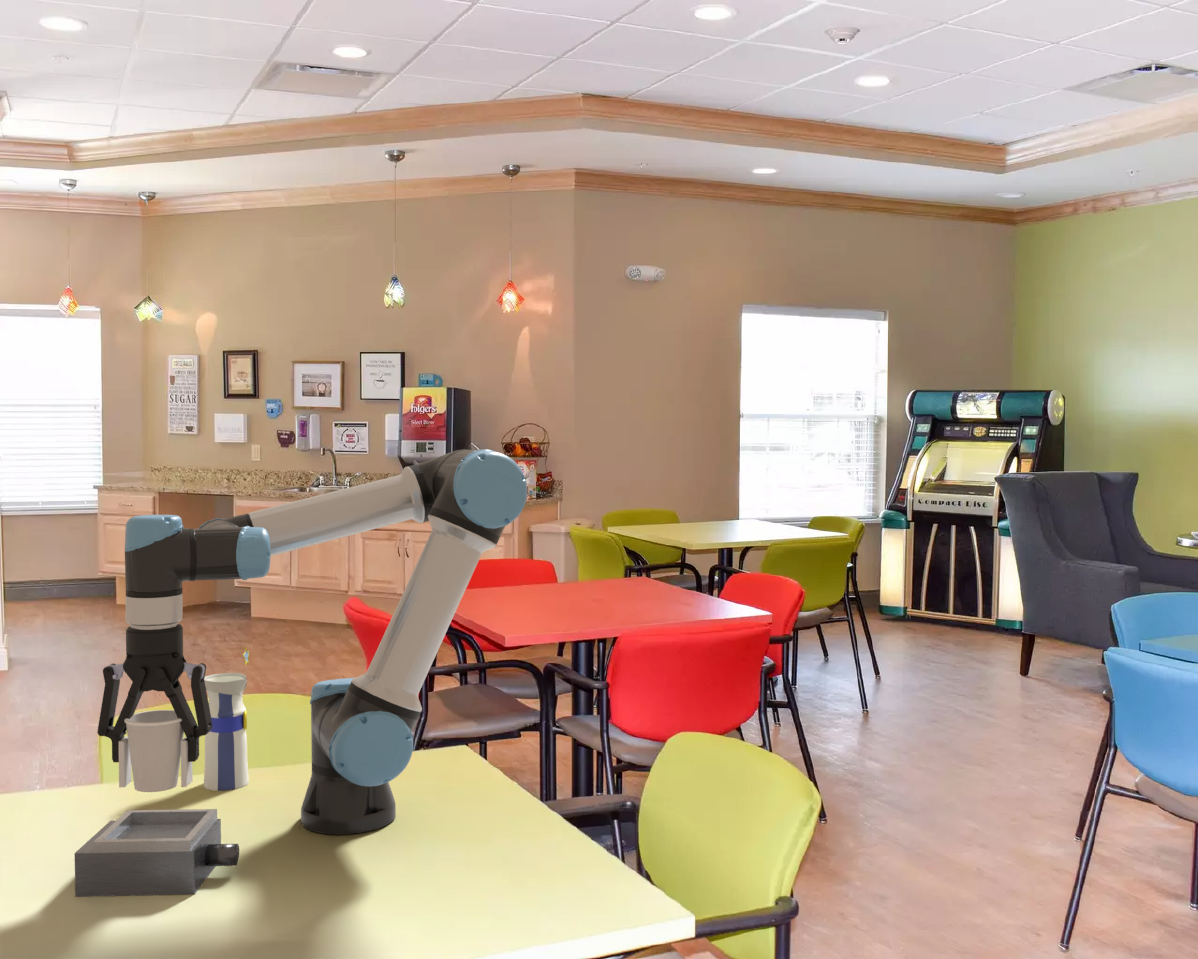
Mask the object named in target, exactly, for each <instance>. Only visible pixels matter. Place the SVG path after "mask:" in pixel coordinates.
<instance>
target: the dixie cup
mask: <svg viewBox="0 0 1198 959" xmlns="http://www.w3.org/2000/svg"><path fill="white" fill-rule="evenodd" d="M181 721H182V719H180V718H177V715H176V713H175V711H174V709H155V710H154V709H153V710H145V711H141V712H140V711H139V712H136V713H135V712H134V714H133V716H132V717H131V718H130V719H127V718H126V719H125V720H124V722H125V723H126V727H127V731H126V732H127V733H126V734H127V736H128V742H129V750H130V757H131V774H132V780H133V786H134V790H135V791H137V792H141V793H156V792H157V793H158V792H165V791H168V790H172V789H174V788H176V787H177V786H178V781H179V776H180V775H179V774H180V768H181V741H182V740H183V739H184V736H185V733H184V731H183V729H182V726H181V724H180V722H181Z"/></svg>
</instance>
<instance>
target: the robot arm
mask: <svg viewBox="0 0 1198 959" xmlns="http://www.w3.org/2000/svg"><path fill="white" fill-rule="evenodd" d="M527 498H528V485H527V480H526V478H525V474H524V472H523V470H522V469H521V467H520V466H519V465H518V463H517V462H516V461H514V460H513V459H512V458H511V457H509V456H508V455H506V454H503V453H501V452H497V451H495V450H492V449H487V448H486V449H485V448H484V449H469V448H468V449H465V448H463V449H457V450H454V451H451V452H448V453H445V454H443V455H440V456H438V457H434V458H431V459H429V460H425V461H423V462H420V463H417V464H412V465H409V466H405V467H404V468H403V469H402V471H401V473H400V474H398V475H393V476H390V477H386V478H382V479H378V480H373V481H370V482H366V483H362V484H358V485H354V486H351V487H346V488H342V489H338V490H334V491H331V492H326V493H323V494H318V495H315V496H311V497H306V498H303V499H299V500H295V501H291V502H286V503H283V504H278V505H274V506H271V507H266V508H263V509H259V510H255V511H254V510H253V511H251V512H250V511H249V512H247V513H244V514H239V515H236V516H232V517H227V518H214V519H211V520H208V521H205V522H204V523H202V524H201V525H200V526H199V527H198V528H189V527H184V525H183V520H182V518H181V517H180V515H176V514H140V515H135V516H132V517H130V518H129V519H128V520H127V521H126V523H125V537H124V538H125V539H124V570H125V571H124V576H125V623H126V624H128V627H127V628H126V629H125V652H126V653H125V654H126V657H125V660H124V661H123V663H118V664H116V663H111V664H109V665H107V666H104V668H102V675H103V680H104V689H103V695H102V702H101V707H100V712H99V713H100V714H99V720H98V725H97V732H96V733H97V735H98V736H99V737H105V738H109V739H110V740H111V760H112V762H113V763H118V788H125V787H127V786H128V785H129V784H130V783H131V782H132V765H131V757H130V750H129V742H128V735H127V736H125V735H126V734H127V727H126V723H125V722H124V720H125V719H126V718H127V719H130V718H131V717H132V716H133V714H135V712H136V710H137V708H138V705H139V702H140V701H141V698H142V695H143V694H144V692H150V691H156V692H164V694H165V696H166V698H168V700H169V702H170V704H171V706H172V710H174V711H175V713H176V715H177V718H180V719H182V721H181V722H180V724H181V726H182V729H183V731H184V736H185V737H183V740H182V741H181V759H180V783H181V784H180V785H181V786H180V787H181V788H187V787H188V786H189V785H190V784H191V783H192V782H193V762H194V763H195V762H196V761H197V760H199V756H200V737H202V736H206V734H207V733H209V732H210V731H211V730H212V728H213V725H212V720H211V714H210V709H209V697H208V692H207V690H206V686H205V681H204V678H205V677H206V671H207V665H206V664H205V663H203V662H200V663H198V664H197V663H191V662H187V660H186V659H185V656H184V627H183V626H182V624H180V623H181V621H183V616H184V615H183V613H184V612H183V604H184V601H183V599H184V598H183V596H184V595H183V583H184V582H195V581H219V580H220V581H223V580H224V581H225V580H242V581H247V580H248V579H259V578H264V577H266V576H267V575H268V574H269V571H270V567H271V557H273V556H277V555H280V554H284V553H285V554H286V553H289V552H291V551H296V550H300V549H304V548H307V547H312V546H315V545H319V544H322V543H323V544H324V543H327V542H332V541H335V540H338V539H342V538H344V537H345V538H346V537H349V536H352V535H353V536H354V535H356V534H361V533H364V532H368V531H371V530H372V531H373V530H376V529H380V528H384V527H387V526H391V525H394V524H398V523H403V522H407V521H410V520H413V521H415V522H417V523H419V524H422V523H426V522H429V524H430V528H431V532H430V534H429V536H428V538H427V541H426V543H425V545H424V547H423V549H422V552H421V553H420V556H419V558H418V560H417V562H416V564H415V566H414V569H413V571H412V573H411V574H410V577H409V579H408V581H407V584H406V586H405V588H404V589H403V590H404V591H403V592H402V595H401V597H400V599H399V600H398V604H397V606H396V608H395V610H394V612H393V614H392V617H391V618H390V621H389V622H388V625H387V627H386V629H385V631H384V634H383V636H382V637H381V638H382V639H381V640H380V643H379V645H378V647H377V650H376V651H375V653H374V655H373V657H372V660H371V662H370V664H369V666H368V668H367V671H366V672H365V673H364V674H361V675H358V676H357V677H348V678H347V677H345V678H336V679H328V680H323V681H318V682H316V683H314V684H313V686H312V687H311V692H310V693H311V695H310V700H309V704H310V714H311V715H310V716H311V717H310V718H311V720H310V723H311V724H310V725H311V726H310V728H311V729H310V731H311V738H310V740H311V776H310V779H309V782H308V785H307V788H306V792H305V796H304V798H303V801H302V805H301V807H300V824H301V825H302V827H304V829H306V830H308V831H311V832H315V833H319V834H325V835H353V834H360V833H367V832H370V831H374V830H378V829H380V828H383V827H385V826H387V825H389V824H391V823H392V822H393V821H394V820H395V818H396V816H397V815H396V814H397V813H396V809H397V807H396V801H395V800H396V799H395V797H394V794H393V791H392V788H391V785H390V782H392V781H393V780H394V779H396V778H398V776H400V775H401V773H402V772H403V771H404V770H405V769H406V768H407V767H408V765H409V762H410V761H411V758H412V755H413V751H414V738H413V731H414V728H415V726H416V724H417V722H418V720H419V717H420V716H421V713H422V710H423V708H422V705H421V704H422V703H421V702H420V699H419V693H420V691H421V688H422V686H423V685H424V683H425V680H426V678H427V675H428V673H429V672H430V670H431V667H432V665H433V662H434V660H435V659H436V656H437V654H438V652H439V649H440V647H441V645H442V643H443V640H444V639H445V636H446V633H447V632H448V629H449V627H450V625H451V622H452V620H453V618H454V616H455V614H456V611H457V610H458V608H459V605H460V604H461V603H460V602H461V600H463V599H462V598H463V597H464V594H465V592H466V589H467V588H468V586H469V583H470V581H471V579H472V576H473V574H474V572H475V569H476V568H477V565H478V563H479V561H480V559H481V557H482V554H484V553H485V552H486V551H489V550H492V549H494V548H496V546H497V545H498V543H499V541H500V538H501V537H502V536H501V535H502V534H503V532H504V529H505V527H506V526H508V525H510V524H512V523H513V522H514V521H515V520H516V519H517V518H518V517H519V516H520V515H521V513H522V512H523V509H524V508H525V505H526V503H527V500H528V499H527ZM184 672H185V673H186V676H187V678H188V679H189V680H190V688H191V694H192V698H193V700H192V701H193V705H194V710H195V716H196V718H195V716H194V715H193V712H192V709H191V708H190V705H189V703H188V701H187V699H186V697H185V694H184V692H183V687H182V684H181V682H180V680H179V678H181V676H182V674H183V673H184ZM124 673H125V674H126V675H127V677H128V678H129V680H130V681H132V683H131V685H130V687H129V690H128V692H127V696H126V699H125V702H124V704H123V705H122V708H121V710H120V713H119V715H118V718H117V720H116V722H114V721H115V715H116V708H117V703H118V696H119V690H120V685H121V684H120V683H121V679H122V678H123V676H124ZM114 723H115V725H114Z"/></svg>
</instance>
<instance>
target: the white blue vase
mask: <svg viewBox="0 0 1198 959" xmlns="http://www.w3.org/2000/svg"><path fill="white" fill-rule="evenodd" d="M249 656H250V650H247V646H245V647H244V652H243V654H242V657H243V658H244V666H246V665H247V664H250V659H249V658H250V657H249ZM204 681H205V686H206V692H207V698H208V703H209V709H210V714H211V720H212V725H213V728H212V730H211V731H210V732H209V733H207V734H206V735H204V736H205V737H204V770H203V771H204V775H203V776H204V777H203V788H204V789H206V790H208V791H215V792H216V791H217V792H222V791H233V790H237V789H241V788H243V787H246V786H247V785H248V784H249V782H250V781H249V766H248V738H247V737H248V736H247V729H248V721H247V720H248V718H247V717H248V716H247V715H248V713H247V708H246V706H245V705H244V702H243V701H244V700H243V698H244V697H243V693H244V692H245V690H246V687H247V684H248V679H247V676H246V675H245V674H243V673H240V672H239V673H238V672H225V673H223V672H222V673H214V674H209V675H207V676H206V675H205V678H204Z"/></svg>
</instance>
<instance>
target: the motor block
mask: <svg viewBox="0 0 1198 959" xmlns="http://www.w3.org/2000/svg"><path fill="white" fill-rule="evenodd" d="M221 820H222V819H221V818H218V808H202V809H201V808H200V809H199V808H197V809H195V808H194V809H189V808H188V809H187V808H186V809H136V810H135V809H134V810H133V809H129V810H126V811H125V812H124V813H123V814H122V815H121V816H120V817H119V818H117V820H109V821H108V822H107V823H106V824H105V825H104V826H103V827H102V828H100V829H99V831H97V832H96V833H95V834H94V835H93V836H91V838H89V840H87V841H86V842H85V843H84V844H83V845H82V846H81V847H80V848H79V849H78V850H76V851H75V852H74V890H75V891H74V893H75V894H74V896H75V898H76V897H78V898H80V897H82V898H83V897H122V896H123V897H126V896H127V897H129V896H130V897H132V896H171V895H172V896H175V895H176V896H177V895H179V896H181V895H182V896H183V895H195V894H197V892H198V891H199V889H200V888H201V886H202V885H203V884H204V882H206V880H207V879H208V877H209V876H210V874H211V873H212V872H213V870H214V869H215V868H216V867H232V866H233V867H236V866H237V865H238V863H239V859H240V846H239V843H222V826H221V824H222V822H221Z"/></svg>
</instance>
